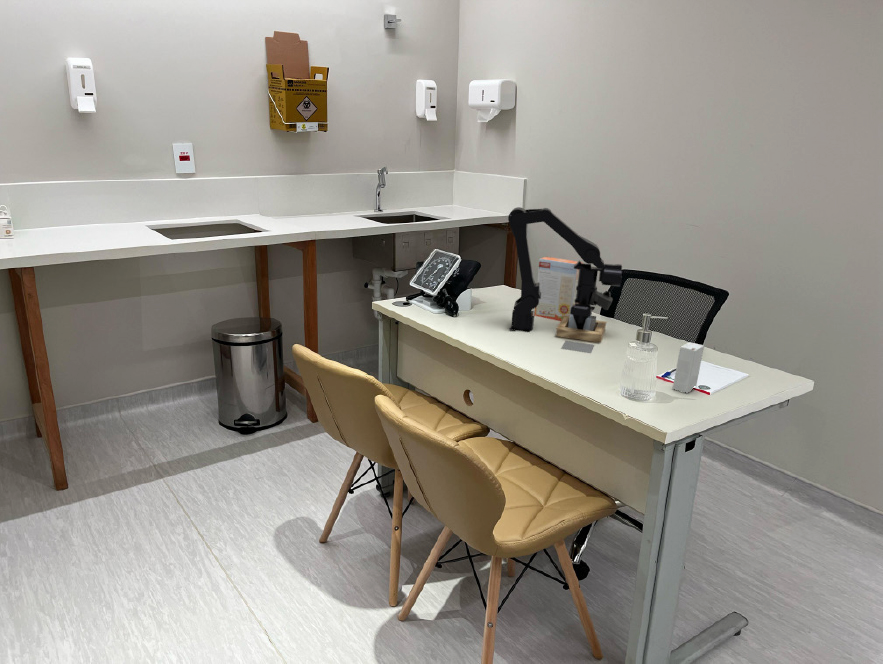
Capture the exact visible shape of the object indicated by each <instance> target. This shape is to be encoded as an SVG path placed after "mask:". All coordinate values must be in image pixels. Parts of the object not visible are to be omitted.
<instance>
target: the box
mask: <svg viewBox="0 0 883 664" xmlns="http://www.w3.org/2000/svg"><path fill="white" fill-rule="evenodd" d="M596 320H597V316H596V315H591V316H590V317H588V318H587V319H586V322H585V325H584V328H583V330H588V331H595V324H596ZM568 328H574V329H577V326H576V323H575V320H574V317H573V315H572V314H571V315H570V316H569V325H568Z"/></svg>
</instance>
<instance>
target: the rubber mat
mask: <svg viewBox="0 0 883 664" xmlns="http://www.w3.org/2000/svg"><path fill="white" fill-rule="evenodd" d="M594 348H595V344H590V343H585V342H578V341H571V340H565V341H564V342H563V344H562V346H561V348H560V350H565V351H567V350H568V351H572V352H573V351H574V352H580V353H584V354H585V353H586V354H592V352H593V350H594Z"/></svg>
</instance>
